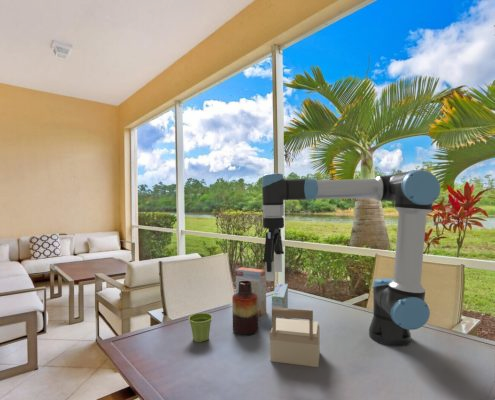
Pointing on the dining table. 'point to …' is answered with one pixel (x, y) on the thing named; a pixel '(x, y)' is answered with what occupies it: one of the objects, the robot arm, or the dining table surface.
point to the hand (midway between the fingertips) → (274, 276)
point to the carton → (295, 349)
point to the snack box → (280, 297)
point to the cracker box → (254, 284)
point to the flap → (293, 322)
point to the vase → (245, 310)
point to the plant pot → (200, 326)
